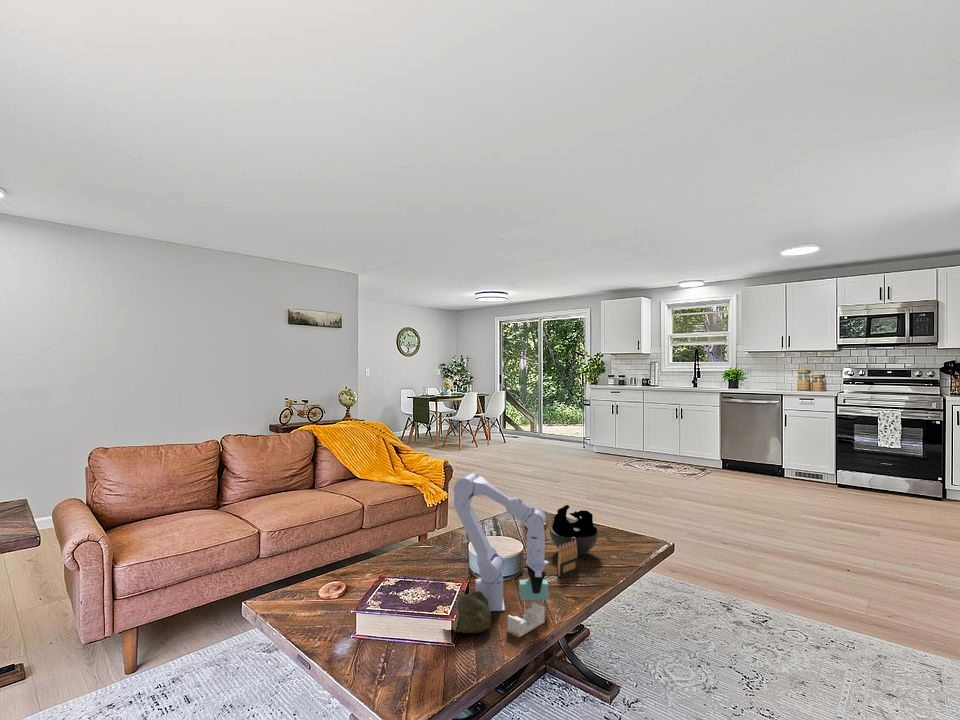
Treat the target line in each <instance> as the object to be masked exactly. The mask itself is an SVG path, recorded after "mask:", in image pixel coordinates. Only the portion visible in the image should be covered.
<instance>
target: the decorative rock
mask: <svg viewBox="0 0 960 720" xmlns="http://www.w3.org/2000/svg"><path fill="white" fill-rule="evenodd" d="M458 596H459V602H458V606H457V608H458V611H459V616H458V622H457V627H456V631H455V632H457V633H462V634H479V633H482V632H484V631H486V630H488V629H489V628H490V627H491V623H492V616H491V615H492V614H491V611H490V609H489V607H488V600H487V598H485V596H484V595H483V594H482V593H481V592H480V591H478V592H476V591H473V592H471V593H468V594H460V595H458Z"/></svg>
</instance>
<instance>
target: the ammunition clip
mask: <svg viewBox="0 0 960 720" xmlns="http://www.w3.org/2000/svg"><path fill="white" fill-rule="evenodd" d="M556 569H557V570H556V577H559V578H562V577H566V576H568V575H570V574H573V573H575V572H577V571H579V557H578V556H577V543H576V539H575V540H574V544H573V540H572V541H571V545H570V541H569V542H568V545H567V542H566V543H565V546H564V543H563V545H562V548H561V545H560V546H559V549H558V555H557V564H556Z"/></svg>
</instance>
